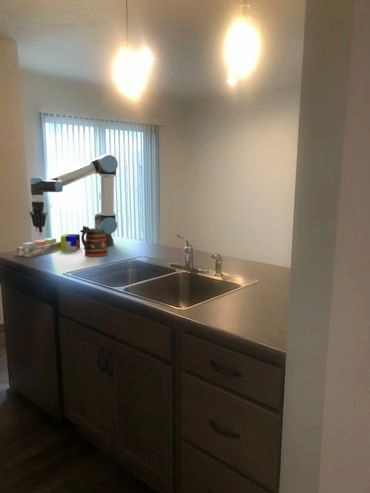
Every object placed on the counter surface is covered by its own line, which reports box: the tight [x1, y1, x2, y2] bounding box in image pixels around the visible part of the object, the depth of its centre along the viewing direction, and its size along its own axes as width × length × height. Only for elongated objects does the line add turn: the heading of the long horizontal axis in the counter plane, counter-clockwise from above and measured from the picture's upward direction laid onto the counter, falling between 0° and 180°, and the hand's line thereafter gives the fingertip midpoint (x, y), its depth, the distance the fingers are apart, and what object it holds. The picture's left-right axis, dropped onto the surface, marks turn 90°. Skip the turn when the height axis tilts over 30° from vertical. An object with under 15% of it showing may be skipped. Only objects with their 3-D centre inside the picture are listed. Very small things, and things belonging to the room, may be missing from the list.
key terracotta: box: [32, 239, 47, 246], centre depth 252 cm, size 6×6×4 cm
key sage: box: [42, 237, 57, 244], centre depth 260 cm, size 6×6×4 cm
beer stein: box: [79, 225, 109, 258], centre depth 245 cm, size 19×15×20 cm
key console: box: [16, 240, 61, 258], centre depth 253 cm, size 12×28×5 cm, turn 158°
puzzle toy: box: [60, 233, 81, 252], centre depth 262 cm, size 10×10×10 cm
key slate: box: [21, 241, 37, 248], centre depth 244 cm, size 6×6×4 cm
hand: (39, 237), depth 251 cm, fingers closed
